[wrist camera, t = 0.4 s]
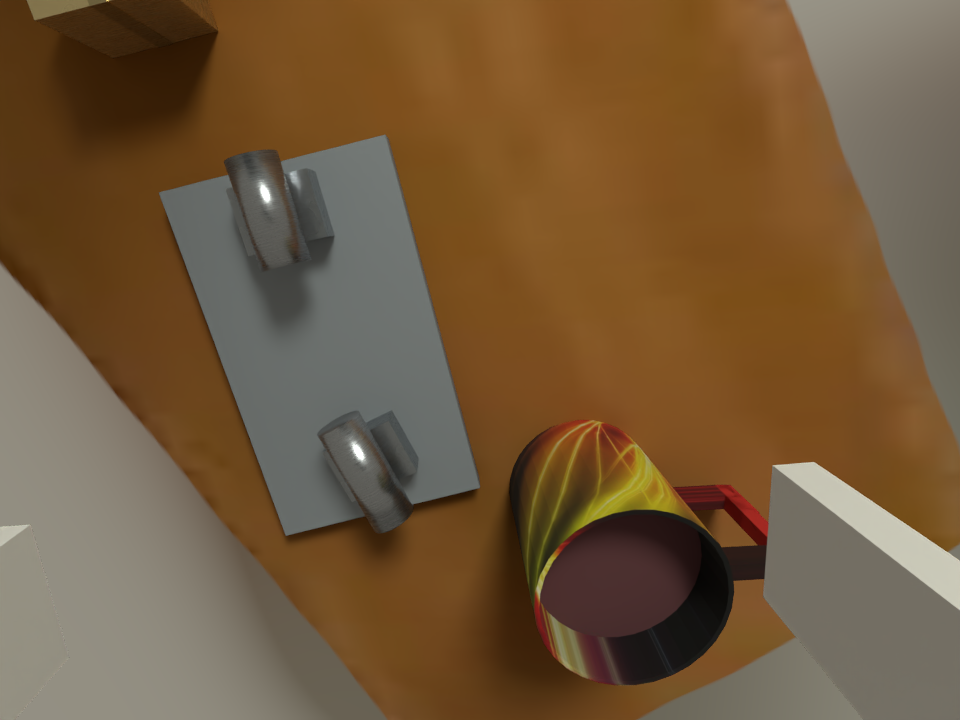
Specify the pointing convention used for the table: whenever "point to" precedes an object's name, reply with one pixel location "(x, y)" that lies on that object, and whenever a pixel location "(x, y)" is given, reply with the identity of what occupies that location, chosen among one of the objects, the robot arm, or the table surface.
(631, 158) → the table surface
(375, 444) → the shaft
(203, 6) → the tan rectangular block
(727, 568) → the patterned mug
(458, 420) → the base plate
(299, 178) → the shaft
